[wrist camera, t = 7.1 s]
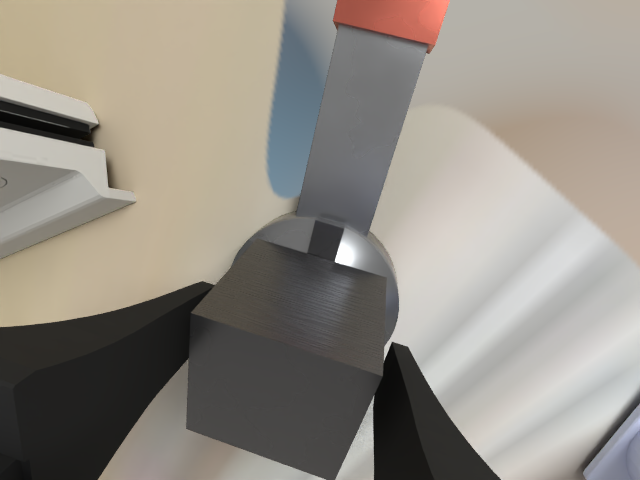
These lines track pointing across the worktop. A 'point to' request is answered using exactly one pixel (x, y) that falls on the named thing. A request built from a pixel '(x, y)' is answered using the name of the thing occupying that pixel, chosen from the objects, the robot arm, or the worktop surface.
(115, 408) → the robot arm
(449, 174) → the worktop surface
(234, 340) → the brushed grey cube
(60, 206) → the white electronic device
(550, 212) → the worktop surface
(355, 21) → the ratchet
